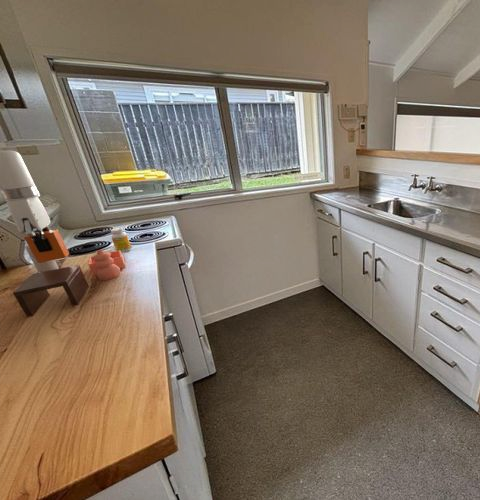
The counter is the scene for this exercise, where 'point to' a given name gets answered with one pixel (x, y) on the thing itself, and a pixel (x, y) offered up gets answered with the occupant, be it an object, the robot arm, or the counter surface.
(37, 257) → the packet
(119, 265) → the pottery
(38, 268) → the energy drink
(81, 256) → the counter surface
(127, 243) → the supplement bottle
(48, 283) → the shelf
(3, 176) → the robot arm
